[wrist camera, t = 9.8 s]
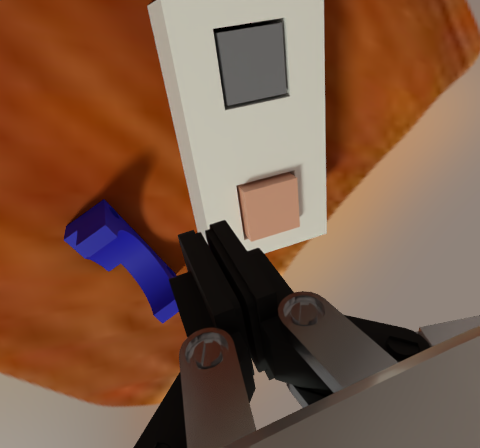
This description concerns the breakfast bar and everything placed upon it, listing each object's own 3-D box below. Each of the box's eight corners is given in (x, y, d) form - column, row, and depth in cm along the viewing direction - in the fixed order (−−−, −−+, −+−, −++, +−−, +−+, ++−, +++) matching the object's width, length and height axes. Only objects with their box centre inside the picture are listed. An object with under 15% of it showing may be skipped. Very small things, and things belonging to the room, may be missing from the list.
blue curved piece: (66, 225, 35) (60, 256, 30) (104, 198, 35) (105, 224, 30) (143, 296, 41) (150, 332, 36) (175, 273, 41) (186, 305, 36)
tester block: (147, 6, 29) (160, -3, 23) (281, -13, 32) (323, -24, 26) (198, 235, 40) (215, 268, 34) (295, 206, 43) (326, 233, 37)
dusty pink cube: (221, 168, 36) (244, 192, 30) (267, 157, 37) (297, 177, 31) (229, 212, 38) (250, 241, 33) (271, 200, 39) (299, 226, 34)
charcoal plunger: (196, 33, 31) (217, 33, 25) (250, 25, 32) (282, 22, 26) (206, 94, 33) (228, 105, 28) (256, 84, 34) (286, 93, 29)
